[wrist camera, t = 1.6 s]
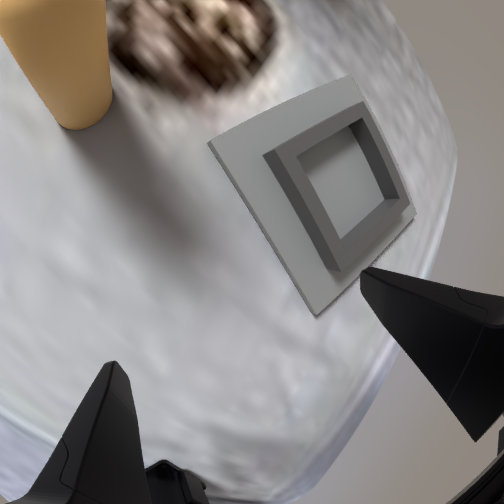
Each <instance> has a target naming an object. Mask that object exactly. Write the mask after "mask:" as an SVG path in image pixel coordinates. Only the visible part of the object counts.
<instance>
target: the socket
mask: <svg viewBox="0 0 504 504" xmlns="http://www.w3.org/2000/svg"><path fill="white" fill-rule="evenodd" d="M207 144H208V145H209V147H210V148H211V150H212V151H213V153H214V155H215V156H216V158H217V159H218V161H219V162H220V164H221V166H222V167H223V169H224V170H225V172H226V174H227V175H228V177H229V178H230V180H231V182H232V183H233V185H234V186H235V188H236V190H237V191H238V193H239V194H240V196H241V198H242V199H243V201H244V202H245V204H246V206H247V207H248V209H249V210H250V212H251V214H252V215H253V217H254V219H255V220H256V222H257V223H258V225H259V227H260V228H261V230H262V232H263V233H264V235H265V236H266V238H267V240H268V241H269V243H270V245H271V246H272V248H273V250H274V251H275V253H276V255H277V256H278V258H279V260H280V261H281V263H282V264H283V266H284V268H285V269H286V271H287V273H288V274H289V276H290V278H291V279H292V281H293V283H294V284H295V286H296V288H297V289H298V291H299V293H300V294H301V296H302V298H303V300H304V301H305V303H306V305H307V306H308V308H309V310H310V311H311V313H313V314H315V315H318V314H319V313H320V312H321V311H322V310H323V309H324V308H325V307H326V306H327V305H328V304H330V303H331V302H332V301H333V300H334V299H335V298H336V297H337V296H338V295H339V294H340V293H341V292H342V291H343V290H344V289H345V288H346V287H347V286H348V285H349V284H351V283H352V282H353V281H354V280H355V279H356V278H357V277H358V276H359V275H360V273H361V271H362V270H363V269H366V268H367V267H368V266H369V265H370V264H371V263H372V262H373V261H374V259H375V258H376V257H377V256H378V255H379V254H380V253H381V252H382V251H383V250H384V249H385V248H386V247H387V246H388V245H389V244H390V243H391V242H392V241H393V240H394V238H395V237H396V236H397V235H398V234H399V233H400V232H401V231H402V230H403V229H404V228H405V226H406V225H407V224H408V223H409V222H410V221H411V220H412V219H413V217H414V216H415V215H416V214H417V213H416V210H415V207H414V205H413V202H412V199H411V196H410V194H409V191H408V189H407V186H406V184H405V181H404V179H403V176H402V174H401V171H400V169H399V167H398V164H397V162H396V160H395V157H394V155H393V153H392V151H391V149H390V146H389V144H388V142H387V140H386V138H385V136H384V134H383V132H382V130H381V128H380V126H379V124H378V122H377V120H376V118H375V116H374V114H373V112H372V110H371V108H370V106H369V105H368V103H367V101H366V99H365V97H364V96H363V94H362V92H361V90H360V89H359V87H358V85H357V83H356V82H355V80H354V78H353V77H352V75H351V74H350V75H348V76H345V77H342V78H340V79H337V80H335V81H332V82H330V83H327V84H325V85H322V86H320V87H317V88H315V89H313V90H310V91H308V92H306V93H303V94H301V95H299V96H297V97H294V98H292V99H290V100H288V101H286V102H283V103H281V104H279V105H277V106H275V107H273V108H271V109H269V110H267V111H265V112H263V113H260V114H258V115H256V116H255V117H253V118H251V119H249V120H247V121H245V122H243V123H241V124H239V125H237V126H235V127H233V128H232V129H230V130H228V131H226V132H224V133H222V134H221V135H219V136H217V137H215V138H213V139H212V140H210V141H209V142H208V143H207Z"/></svg>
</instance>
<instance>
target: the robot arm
mask: <svg viewBox="0 0 504 504" xmlns="http://www.w3.org/2000/svg"><path fill="white" fill-rule="evenodd" d="M360 290H361V293H362V295H363V297H364V298H365V300H366V301H367V302H368V304H369V305H370V307H371V308H372V310H373V311H374V313H375V314H376V316H377V317H378V319H379V320H380V322H381V323H382V324H383V326H384V327H385V328H386V329H387V330H388V332H389V333H390V334H391V335H392V336H393V338H394V339H395V340H396V341H397V342H398V344H399V345H400V346H401V347H402V348H403V350H404V351H405V352H406V353H407V354H408V356H409V357H410V358H411V359H412V361H413V362H414V363H415V364H416V365H417V367H418V368H419V369H420V371H421V372H422V373H423V374H424V376H425V377H426V378H427V379H428V381H429V382H430V383H431V384H432V385H433V387H434V388H435V389H436V391H437V392H438V393H439V395H440V396H441V397H442V399H443V400H444V401H445V403H446V404H447V405H448V407H449V408H450V409H451V411H452V412H453V413H454V415H455V416H456V417H457V419H458V420H459V421H460V423H461V424H462V425H463V427H464V428H465V429H466V431H467V432H468V434H469V435H470V436H471V438H472V439H473V440H474V442H477V441H478V440H479V439H480V438H481V437H482V436H483V435H484V433H486V432H487V431H488V430H489V429H490V428H491V427H492V425H493V424H494V423H495V422H496V421H497V420H498V419H499V418H500V417H501V416H502V415H503V416H504V297H502V296H497V295H491V294H485V293H480V292H474V291H469V290H465V289H461V288H457V287H454V288H453V286H449V285H445V284H440V283H437V282H433V281H429V280H424V279H420V278H416V277H412V276H408V275H404V274H400V273H395V272H391V271H387V270H383V269H379V268H374V267H368V268H366V269H363V270H362V271H361V273H360ZM163 464H165V465H163ZM205 489H206V486H205V484H204V483H202V482H201V481H200V480H199V479H197V478H195V477H194V476H192V475H190V474H189V473H187V472H185V471H184V470H180V469H179V468H177V467H176V466H174V465H173V464H171V463H169V462H168V461H166V460H160V461H158V462H157V463H155V464H153V465H152V466H150V467H148V468H146V469H145V468H144V462H143V456H142V449H141V442H140V435H139V427H138V419H137V414H136V409H135V405H134V400H133V395H132V390H131V385H130V380H129V378H128V376H127V374H126V373H125V371H124V370H123V369H122V368H121V366H120V365H119V363H118V362H117V361H110V362H107V363H105V364H104V365H103V367H102V369H101V370H100V372H99V373H98V375H97V377H96V378H95V380H94V382H93V383H92V385H91V387H90V388H89V390H88V392H87V393H86V395H85V397H84V398H83V400H82V402H81V403H80V405H79V407H78V409H77V410H76V412H75V414H74V416H73V417H72V419H71V421H70V423H69V424H68V426H67V428H66V430H65V432H64V433H63V435H62V438H61V439H60V441H59V442H58V444H57V446H56V448H55V450H54V451H53V453H52V455H51V457H50V458H49V460H48V462H47V463H46V465H45V467H44V468H43V470H42V471H41V473H40V474H39V476H38V478H37V479H36V481H35V482H34V484H33V486H32V487H31V489H30V490H29V491H28V493H27V494H26V495H24V496H23V497H21V498H20V499H17V500H14V501H12V502H9V503H6V504H209V502H208V500H207V497H206V495H205V492H204V490H205ZM446 504H504V427H503V428H502V429H501V430H500V431H499V440H498V453H497V457H496V458H495V459H494V460H493V461H492V462H491V463H490V464H489V465H488V466H487V467H486V468H485V469H484V470H483V471H482V472H481V473H480V474H479V476H477V477H476V478H475V479H474V480H473V481H472V482H471V483H470V484H469V485H467V486H466V487H465V488H464V489H463V490H462V491H461V492H460V493H458V494H457V495H456V496H455V497H454V498H452V499H451V500H450V501H449V502H448V503H446Z"/></svg>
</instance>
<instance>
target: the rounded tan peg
mask: <svg viewBox="0 0 504 504" xmlns="http://www.w3.org/2000/svg"><path fill="white" fill-rule="evenodd" d="M0 35H1V37H2V38H3V40H4V42H5V44H6V45H7V47H8V49H9V50H10V52H11V53H12V55H13V57H14V58H15V60H16V62H17V63H18V65H19V66H20V68H21V69H22V71H23V72H24V74H25V76H26V77H27V79H28V80H29V82H30V83H31V85H32V86H33V88H34V89H35V91H36V92H37V94H38V95H39V96H40V98H41V99H42V101H43V102H44V104H45V105H46V107H47V108H48V109H49V111H50V112H51V114H52V115H53V116H54V118H55V119H56V121H57V122H58V123H59V124H60V125H61V126H63V127H65V128H67V129H71V130H80V129H85V128H88V127H90V126H92V125H94V124H95V123H97V122H98V121H99V120H100V119H102V118H103V116H104V115H105V114H106V113H107V111H108V109H109V107H110V105H111V102H112V85H111V77H110V67H109V56H108V44H107V27H106V0H0Z"/></svg>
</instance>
